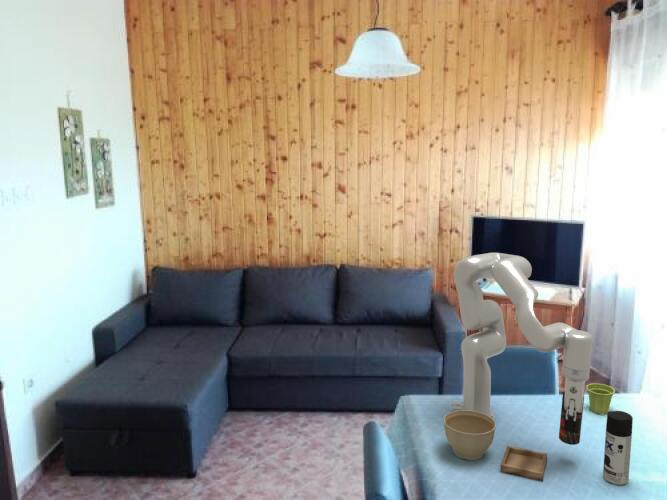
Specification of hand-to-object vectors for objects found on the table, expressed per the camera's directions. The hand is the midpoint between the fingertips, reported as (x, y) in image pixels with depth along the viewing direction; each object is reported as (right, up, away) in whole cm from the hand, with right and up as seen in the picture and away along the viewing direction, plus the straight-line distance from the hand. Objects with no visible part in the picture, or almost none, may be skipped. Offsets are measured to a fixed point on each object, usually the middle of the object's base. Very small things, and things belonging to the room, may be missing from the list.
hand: (570, 425), depth 166 cm
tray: (-14, -12, 0) cm, 19 cm away
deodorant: (0, -5, +1) cm, 5 cm away
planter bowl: (-29, -12, +8) cm, 32 cm away
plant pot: (+26, -6, +34) cm, 43 cm away
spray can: (+10, -13, -8) cm, 18 cm away
